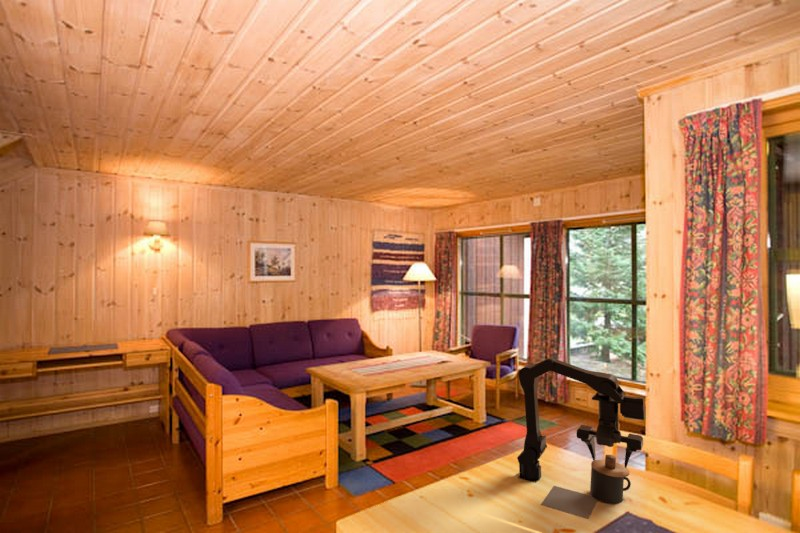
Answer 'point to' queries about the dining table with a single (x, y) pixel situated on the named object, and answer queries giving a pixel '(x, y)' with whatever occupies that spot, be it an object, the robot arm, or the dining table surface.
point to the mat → (570, 502)
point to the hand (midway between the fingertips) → (609, 463)
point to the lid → (610, 467)
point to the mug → (607, 487)
